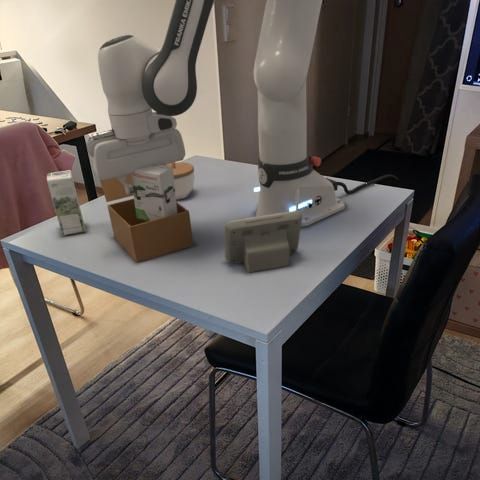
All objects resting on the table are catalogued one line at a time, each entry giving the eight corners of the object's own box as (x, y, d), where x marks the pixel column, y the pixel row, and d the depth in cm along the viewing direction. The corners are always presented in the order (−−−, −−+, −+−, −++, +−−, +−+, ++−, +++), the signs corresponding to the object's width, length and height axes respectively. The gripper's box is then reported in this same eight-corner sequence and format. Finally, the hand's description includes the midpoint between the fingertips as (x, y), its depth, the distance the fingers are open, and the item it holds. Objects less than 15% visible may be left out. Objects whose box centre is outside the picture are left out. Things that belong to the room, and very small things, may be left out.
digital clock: (299, 249, 116) (299, 203, 110) (304, 268, 108) (304, 220, 102) (226, 254, 116) (221, 208, 110) (226, 274, 108) (221, 226, 102)
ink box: (135, 219, 120) (127, 167, 113) (149, 210, 123) (142, 160, 116) (166, 226, 116) (159, 173, 109) (179, 217, 119) (173, 166, 113)
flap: (106, 202, 122) (106, 202, 123) (161, 188, 127) (161, 188, 128) (96, 168, 120) (96, 168, 121) (152, 155, 125) (152, 156, 126)
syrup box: (84, 224, 136) (70, 168, 128) (85, 233, 131) (71, 175, 123) (62, 228, 135) (46, 172, 127) (62, 237, 130) (46, 179, 122)
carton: (114, 238, 127) (107, 205, 123) (167, 223, 133) (161, 191, 128) (137, 262, 116) (129, 227, 111) (193, 245, 121) (189, 211, 116)
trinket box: (151, 196, 149) (145, 163, 144) (182, 186, 155) (178, 154, 149) (173, 206, 142) (167, 171, 137) (204, 194, 148) (200, 161, 142)
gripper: (88, 138, 103) (105, 205, 111) (183, 117, 111) (192, 181, 118) (80, 132, 108) (96, 197, 116) (171, 112, 115) (181, 174, 123)
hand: (145, 189), depth 117 cm, fingers closed on ink box, 6 cm apart
